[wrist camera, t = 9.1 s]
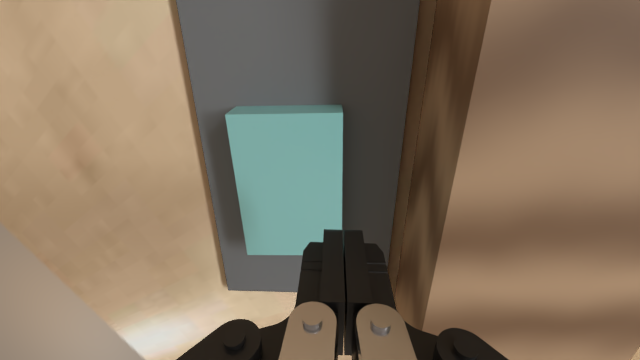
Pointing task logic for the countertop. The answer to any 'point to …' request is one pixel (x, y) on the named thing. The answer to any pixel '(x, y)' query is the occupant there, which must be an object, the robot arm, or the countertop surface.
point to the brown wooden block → (528, 180)
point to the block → (287, 174)
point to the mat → (302, 89)
